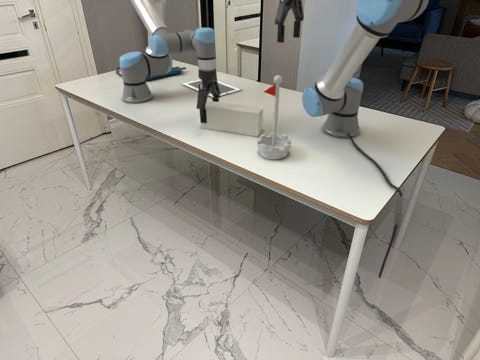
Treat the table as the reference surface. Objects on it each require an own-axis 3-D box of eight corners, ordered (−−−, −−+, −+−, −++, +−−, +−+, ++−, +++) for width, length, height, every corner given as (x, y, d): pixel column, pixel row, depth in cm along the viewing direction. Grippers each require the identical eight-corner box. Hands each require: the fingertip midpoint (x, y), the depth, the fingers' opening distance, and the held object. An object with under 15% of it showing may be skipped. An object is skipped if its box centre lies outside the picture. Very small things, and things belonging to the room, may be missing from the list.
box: (262, 130, 150) (263, 107, 145) (258, 136, 145) (258, 113, 139) (207, 122, 158) (205, 100, 152) (201, 127, 153) (199, 105, 147)
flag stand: (280, 142, 140) (286, 68, 124) (296, 156, 130) (304, 78, 113) (251, 147, 136) (253, 72, 120) (265, 163, 126) (269, 82, 109)
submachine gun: (171, 61, 240) (190, 66, 223) (172, 66, 242) (191, 72, 225) (125, 70, 221) (142, 76, 205) (126, 76, 223) (144, 82, 207)
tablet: (181, 84, 205) (181, 83, 205) (208, 77, 216) (208, 77, 216) (213, 98, 185) (213, 97, 185) (241, 90, 196) (241, 89, 196)
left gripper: (211, 61, 152) (213, 106, 163) (185, 76, 132) (190, 126, 143) (226, 62, 149) (228, 108, 161) (202, 77, 130) (206, 128, 141)
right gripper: (298, -20, 142) (294, 34, 153) (266, -18, 125) (265, 43, 136) (314, -20, 138) (310, 36, 149) (284, -18, 121) (281, 45, 132)
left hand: (210, 117), depth 152 cm, fingers open, 13 cm apart
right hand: (288, 39), depth 143 cm, fingers open, 13 cm apart
